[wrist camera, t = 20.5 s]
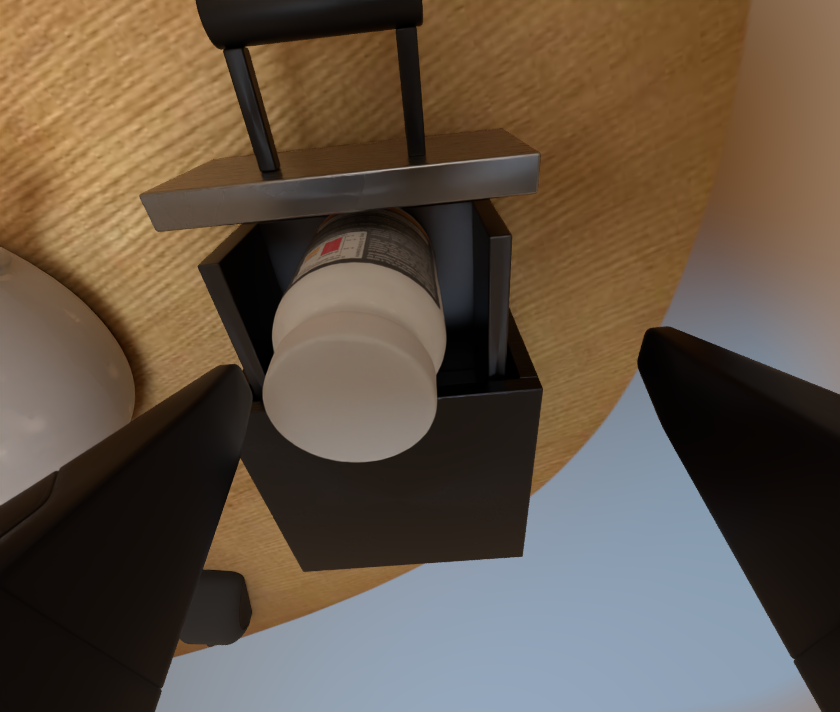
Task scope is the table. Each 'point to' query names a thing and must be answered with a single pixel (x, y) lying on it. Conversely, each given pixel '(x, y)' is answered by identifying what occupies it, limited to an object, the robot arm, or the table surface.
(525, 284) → the table surface
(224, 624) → the computer mouse
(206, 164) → the drawer
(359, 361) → the pill bottle
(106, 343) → the teapot
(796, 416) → the robot arm
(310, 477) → the cabinet
